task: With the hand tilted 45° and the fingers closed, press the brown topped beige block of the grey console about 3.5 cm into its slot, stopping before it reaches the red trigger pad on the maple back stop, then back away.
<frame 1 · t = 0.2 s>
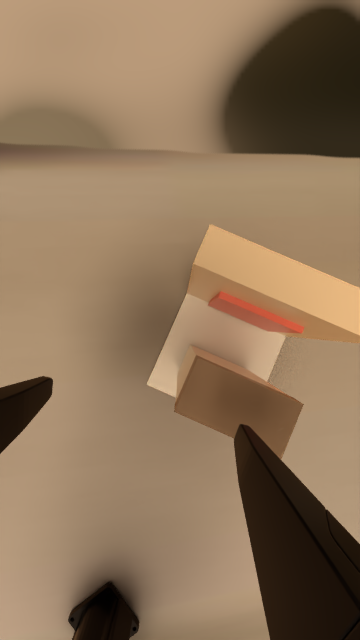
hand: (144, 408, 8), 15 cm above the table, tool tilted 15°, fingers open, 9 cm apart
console: (211, 369, 23), on the table
brown topped beige block: (222, 384, 17), point 6 cm above the table, slide at 0.0 cm
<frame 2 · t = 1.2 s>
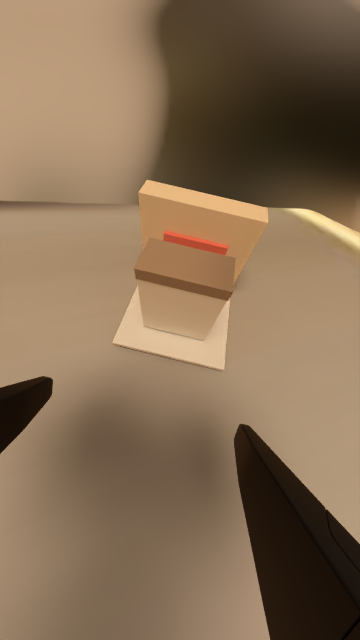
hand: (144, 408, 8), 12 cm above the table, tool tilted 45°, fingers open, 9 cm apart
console: (176, 323, 25), on the table
brown topped beige block: (181, 297, 19), point 6 cm above the table, slide at 0.0 cm
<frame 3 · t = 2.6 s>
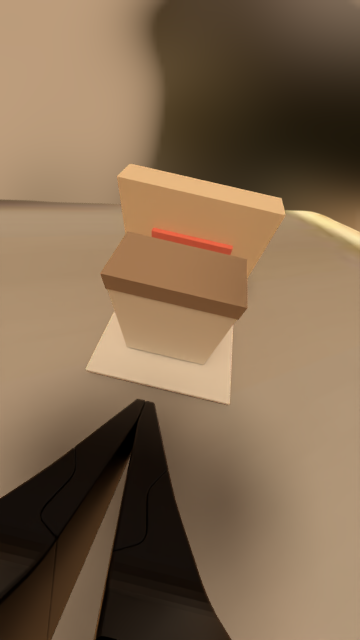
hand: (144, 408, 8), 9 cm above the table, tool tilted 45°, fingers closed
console: (169, 342, 20), on the table
brown topped beige block: (173, 312, 15), point 6 cm above the table, slide at 0.0 cm
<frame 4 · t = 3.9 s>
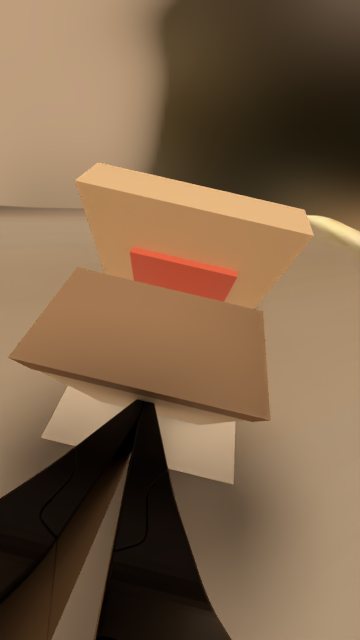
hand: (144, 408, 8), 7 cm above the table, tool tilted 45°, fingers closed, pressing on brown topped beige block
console: (155, 389, 16), on the table
brown topped beige block: (156, 369, 11), point 6 cm above the table, slide at 0.1 cm, touching gripper
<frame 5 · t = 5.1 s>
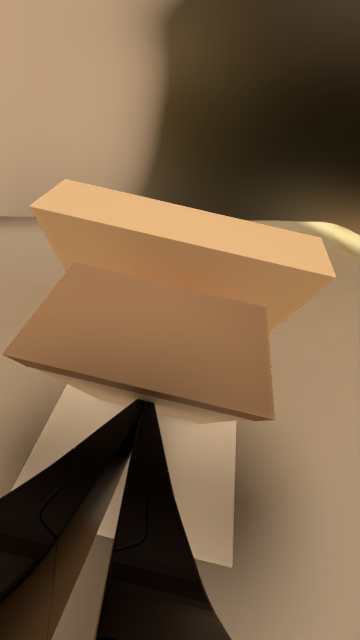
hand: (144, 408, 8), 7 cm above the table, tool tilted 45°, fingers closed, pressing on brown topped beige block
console: (142, 438, 14), on the table
brown topped beige block: (156, 367, 10), point 6 cm above the table, slide at 3.8 cm, touching gripper
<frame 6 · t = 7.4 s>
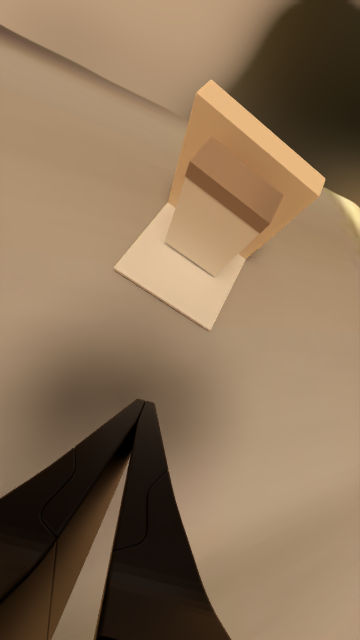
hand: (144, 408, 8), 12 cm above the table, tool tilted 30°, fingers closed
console: (181, 272, 24), on the table
brown topped beige block: (213, 222, 20), point 6 cm above the table, slide at 3.8 cm
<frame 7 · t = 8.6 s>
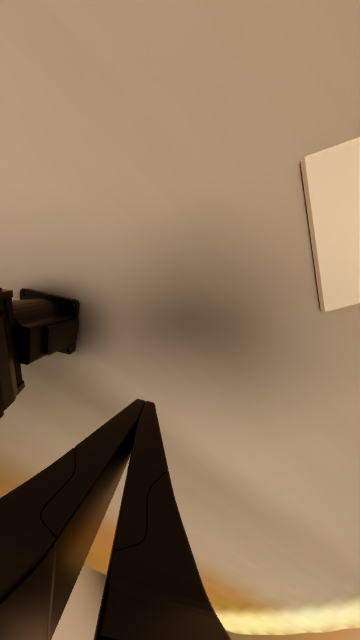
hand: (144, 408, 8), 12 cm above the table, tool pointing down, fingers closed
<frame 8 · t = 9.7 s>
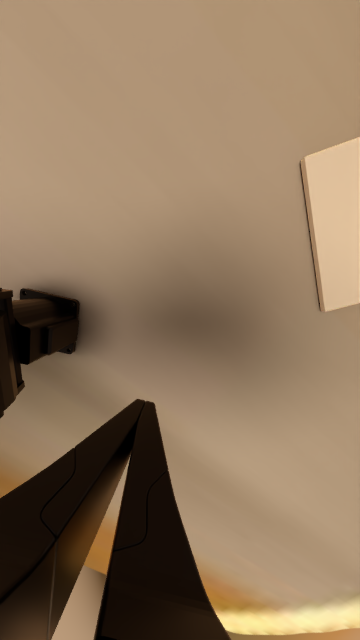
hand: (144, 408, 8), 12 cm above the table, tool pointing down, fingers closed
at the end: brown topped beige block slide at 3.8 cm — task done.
